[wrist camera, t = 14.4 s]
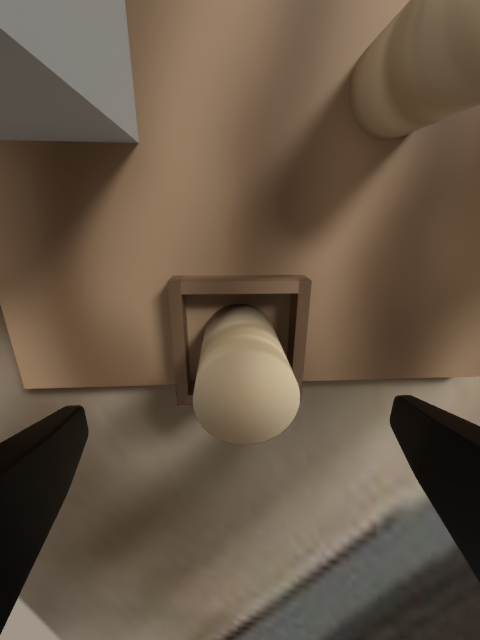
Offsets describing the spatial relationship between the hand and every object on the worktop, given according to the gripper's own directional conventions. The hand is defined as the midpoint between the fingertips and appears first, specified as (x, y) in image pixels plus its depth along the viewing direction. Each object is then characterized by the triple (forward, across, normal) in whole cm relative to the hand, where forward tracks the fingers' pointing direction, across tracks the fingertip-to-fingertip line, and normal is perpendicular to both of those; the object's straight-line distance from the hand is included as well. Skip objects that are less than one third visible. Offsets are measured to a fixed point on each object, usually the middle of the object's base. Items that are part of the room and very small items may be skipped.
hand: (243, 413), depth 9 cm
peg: (+5, -6, -10) cm, 12 cm away
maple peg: (+5, 0, 0) cm, 5 cm away
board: (+7, -2, -6) cm, 9 cm away
